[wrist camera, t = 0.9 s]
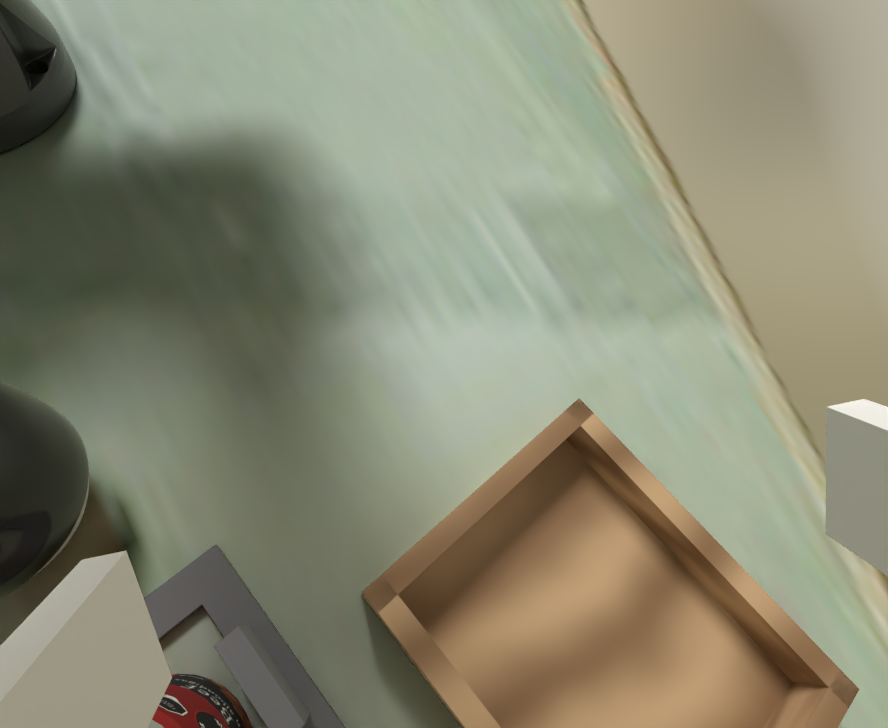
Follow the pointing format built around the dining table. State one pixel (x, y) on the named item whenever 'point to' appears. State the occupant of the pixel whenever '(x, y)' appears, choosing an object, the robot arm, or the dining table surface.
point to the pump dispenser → (37, 485)
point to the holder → (243, 642)
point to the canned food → (198, 705)
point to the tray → (597, 605)
